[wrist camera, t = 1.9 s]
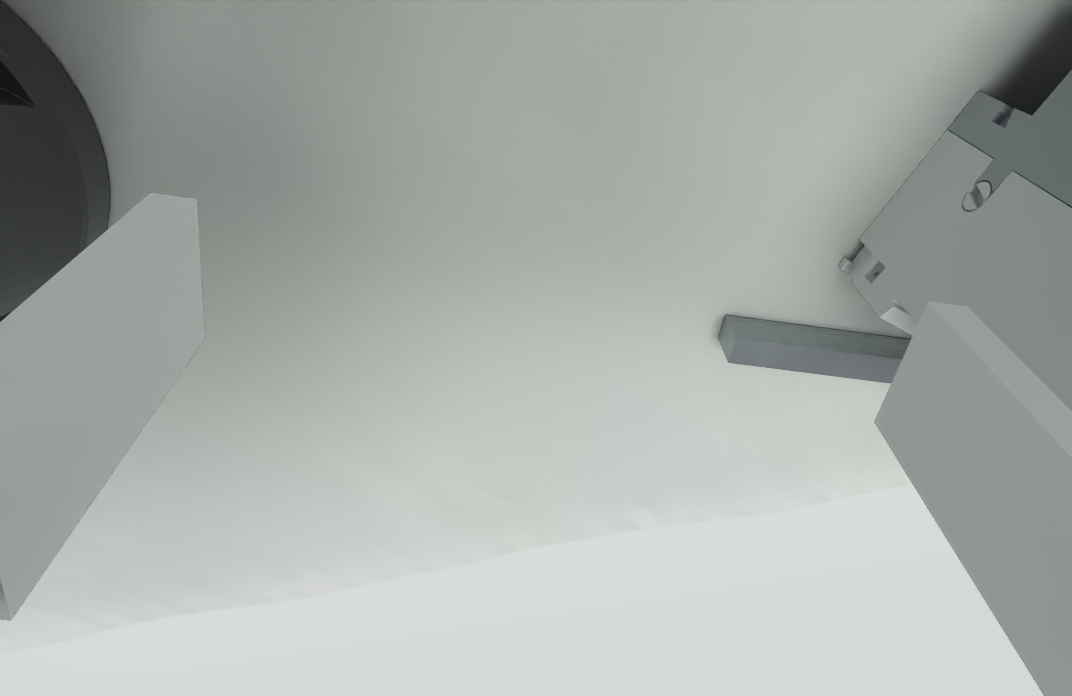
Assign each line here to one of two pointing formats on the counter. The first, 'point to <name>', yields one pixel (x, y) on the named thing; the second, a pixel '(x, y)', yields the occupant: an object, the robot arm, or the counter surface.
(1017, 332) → the circuit breaker
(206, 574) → the counter surface
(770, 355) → the dark grey piece
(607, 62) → the counter surface
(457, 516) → the counter surface
